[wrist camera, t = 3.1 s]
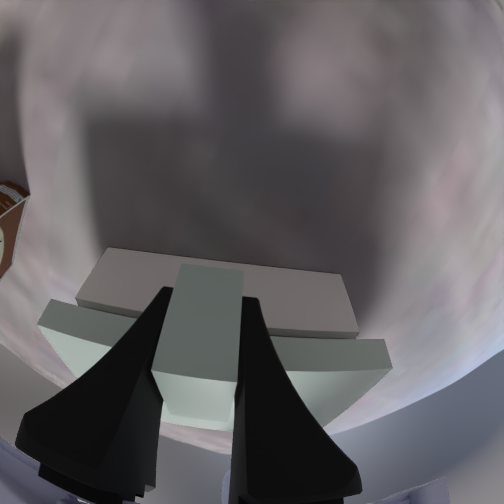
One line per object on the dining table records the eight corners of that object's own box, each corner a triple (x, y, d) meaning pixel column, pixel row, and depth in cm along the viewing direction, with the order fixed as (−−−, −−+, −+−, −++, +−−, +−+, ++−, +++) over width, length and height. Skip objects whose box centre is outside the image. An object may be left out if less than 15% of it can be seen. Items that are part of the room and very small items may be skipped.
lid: (315, 412, 19) (318, 457, 16) (108, 388, 18) (96, 431, 15) (421, 287, 10) (457, 369, 7) (25, 241, 9) (-24, 308, 6)
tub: (302, 355, 24) (308, 403, 19) (131, 335, 22) (115, 380, 18) (340, 274, 18) (359, 331, 14) (108, 247, 17) (75, 297, 13)
